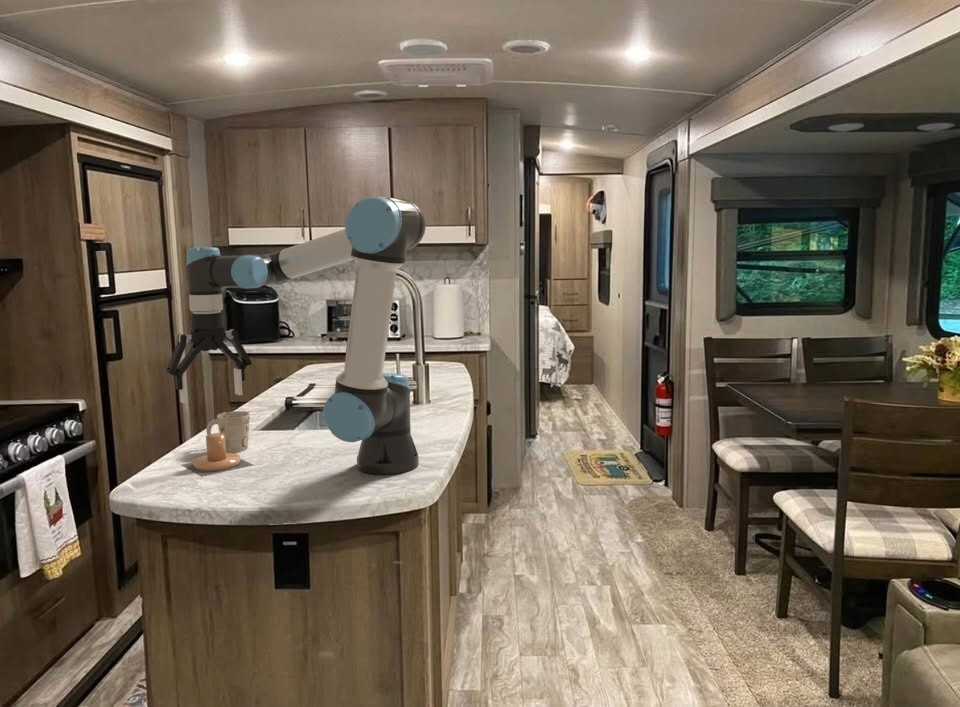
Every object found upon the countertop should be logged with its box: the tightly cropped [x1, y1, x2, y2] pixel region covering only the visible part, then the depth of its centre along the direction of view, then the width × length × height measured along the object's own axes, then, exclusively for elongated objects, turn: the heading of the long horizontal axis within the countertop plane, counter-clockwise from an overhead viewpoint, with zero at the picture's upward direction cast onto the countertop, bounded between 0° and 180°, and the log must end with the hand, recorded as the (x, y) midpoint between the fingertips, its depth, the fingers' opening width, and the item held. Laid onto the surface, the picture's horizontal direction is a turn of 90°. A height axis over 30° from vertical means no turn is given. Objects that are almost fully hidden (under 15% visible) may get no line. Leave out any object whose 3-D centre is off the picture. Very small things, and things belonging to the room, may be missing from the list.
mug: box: [206, 410, 251, 454], centre depth 198 cm, size 8×13×10 cm, turn 78°
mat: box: [181, 458, 254, 478], centre depth 184 cm, size 13×13×1 cm
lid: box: [192, 432, 241, 472], centre depth 184 cm, size 11×11×8 cm
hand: (212, 398), depth 182 cm, fingers open, 13 cm apart
